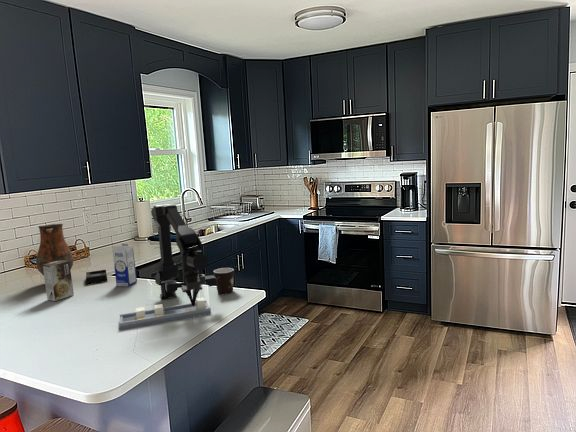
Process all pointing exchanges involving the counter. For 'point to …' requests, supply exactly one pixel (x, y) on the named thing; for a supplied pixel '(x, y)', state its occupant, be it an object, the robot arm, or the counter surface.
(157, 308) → the off-white rectangular block
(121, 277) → the milk carton
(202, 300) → the cream block
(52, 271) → the coffee box
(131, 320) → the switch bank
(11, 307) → the counter surface
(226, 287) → the coffee mug
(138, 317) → the beige block
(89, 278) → the battery charger
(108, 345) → the counter surface
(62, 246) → the pitcher
